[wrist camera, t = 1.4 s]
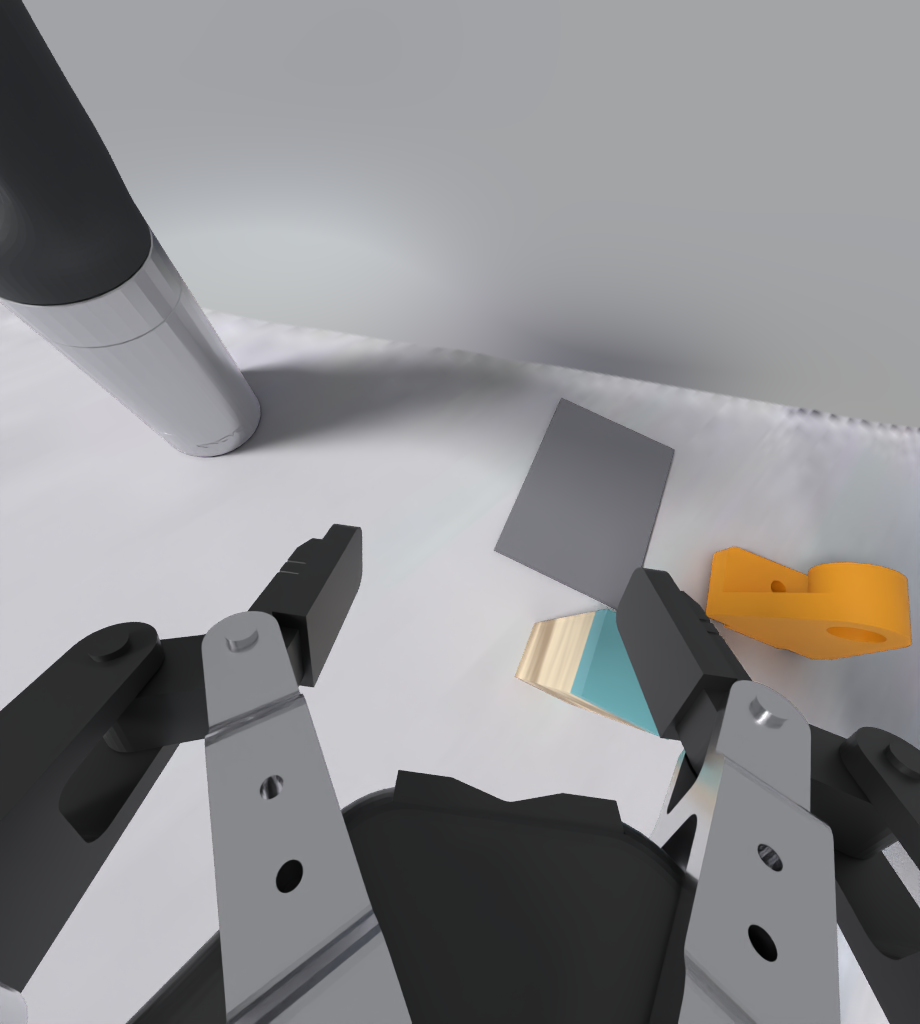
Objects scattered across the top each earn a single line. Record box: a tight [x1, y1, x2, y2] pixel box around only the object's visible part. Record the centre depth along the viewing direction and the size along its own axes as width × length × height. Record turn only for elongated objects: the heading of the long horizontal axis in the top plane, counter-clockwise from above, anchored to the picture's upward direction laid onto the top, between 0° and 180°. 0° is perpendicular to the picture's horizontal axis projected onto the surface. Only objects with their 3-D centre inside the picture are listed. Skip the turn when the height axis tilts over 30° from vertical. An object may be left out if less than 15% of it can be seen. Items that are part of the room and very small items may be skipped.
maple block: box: [515, 609, 669, 740], centre depth 27 cm, size 5×5×14 cm
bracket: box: [706, 547, 912, 660], centre depth 32 cm, size 11×7×12 cm, turn 69°
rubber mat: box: [494, 398, 674, 610], centre depth 40 cm, size 20×14×1 cm
